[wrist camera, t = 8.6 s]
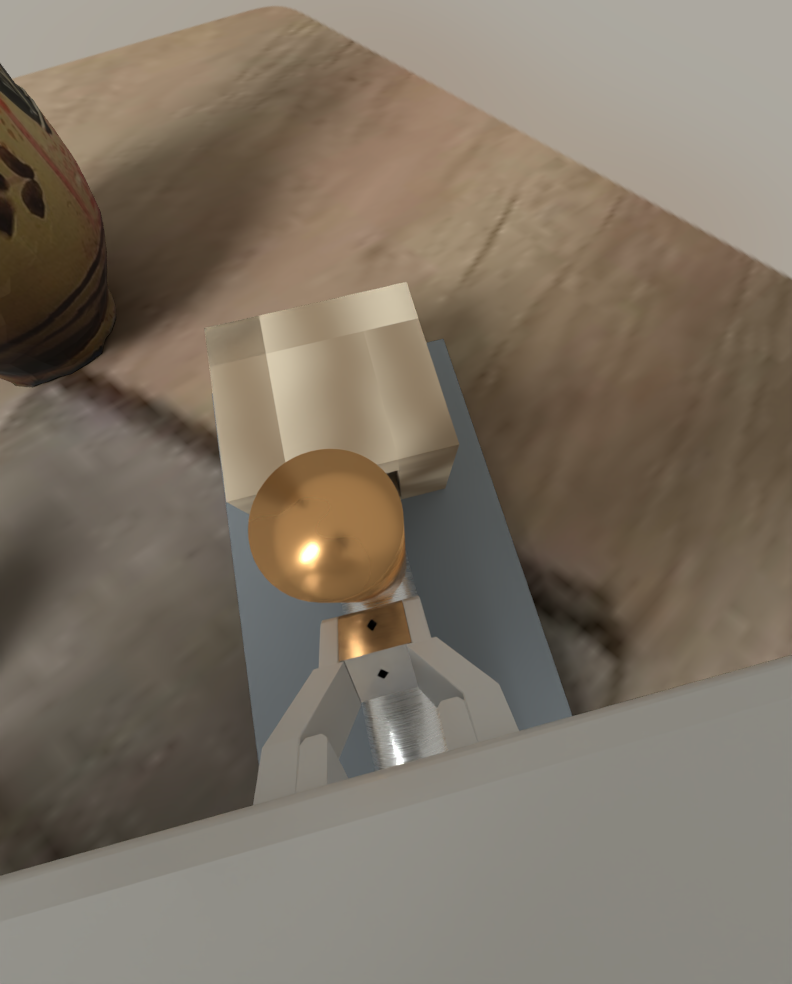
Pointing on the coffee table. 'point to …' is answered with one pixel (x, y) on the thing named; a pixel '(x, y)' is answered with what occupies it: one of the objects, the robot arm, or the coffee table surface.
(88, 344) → the ceramic jug
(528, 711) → the slate board
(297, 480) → the bolt with orange handle
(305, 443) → the birch socket
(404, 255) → the coffee table surface
